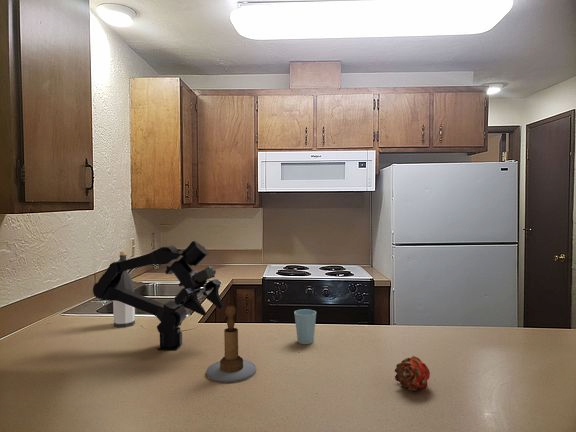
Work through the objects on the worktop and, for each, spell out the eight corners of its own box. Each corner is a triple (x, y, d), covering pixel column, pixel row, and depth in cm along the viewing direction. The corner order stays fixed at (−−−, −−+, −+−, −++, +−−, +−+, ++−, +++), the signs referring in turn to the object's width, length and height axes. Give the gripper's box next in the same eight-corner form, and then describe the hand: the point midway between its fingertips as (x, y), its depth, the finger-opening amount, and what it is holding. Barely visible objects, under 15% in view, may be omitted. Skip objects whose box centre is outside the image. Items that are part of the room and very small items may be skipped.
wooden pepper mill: (232, 374, 110) (230, 310, 109) (215, 369, 113) (213, 306, 113) (247, 366, 115) (246, 304, 115) (231, 361, 119) (230, 302, 118)
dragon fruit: (408, 404, 97) (409, 390, 108) (438, 387, 95) (436, 374, 107) (387, 373, 99) (390, 362, 111) (416, 355, 98) (416, 346, 109)
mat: (200, 382, 107) (200, 378, 107) (213, 362, 121) (213, 358, 121) (252, 383, 107) (252, 379, 106) (258, 362, 120) (258, 359, 120)
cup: (320, 343, 137) (320, 313, 137) (300, 346, 134) (300, 316, 133) (310, 337, 144) (310, 308, 143) (291, 340, 141) (290, 311, 140)
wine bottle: (109, 326, 159) (107, 252, 158) (123, 321, 167) (121, 250, 166) (126, 328, 157) (124, 252, 156) (139, 322, 164) (137, 250, 164)
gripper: (181, 263, 122) (211, 302, 118) (216, 256, 139) (243, 289, 135) (161, 286, 126) (190, 325, 122) (198, 276, 143) (224, 310, 139)
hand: (213, 311), depth 129 cm, fingers open, 9 cm apart
